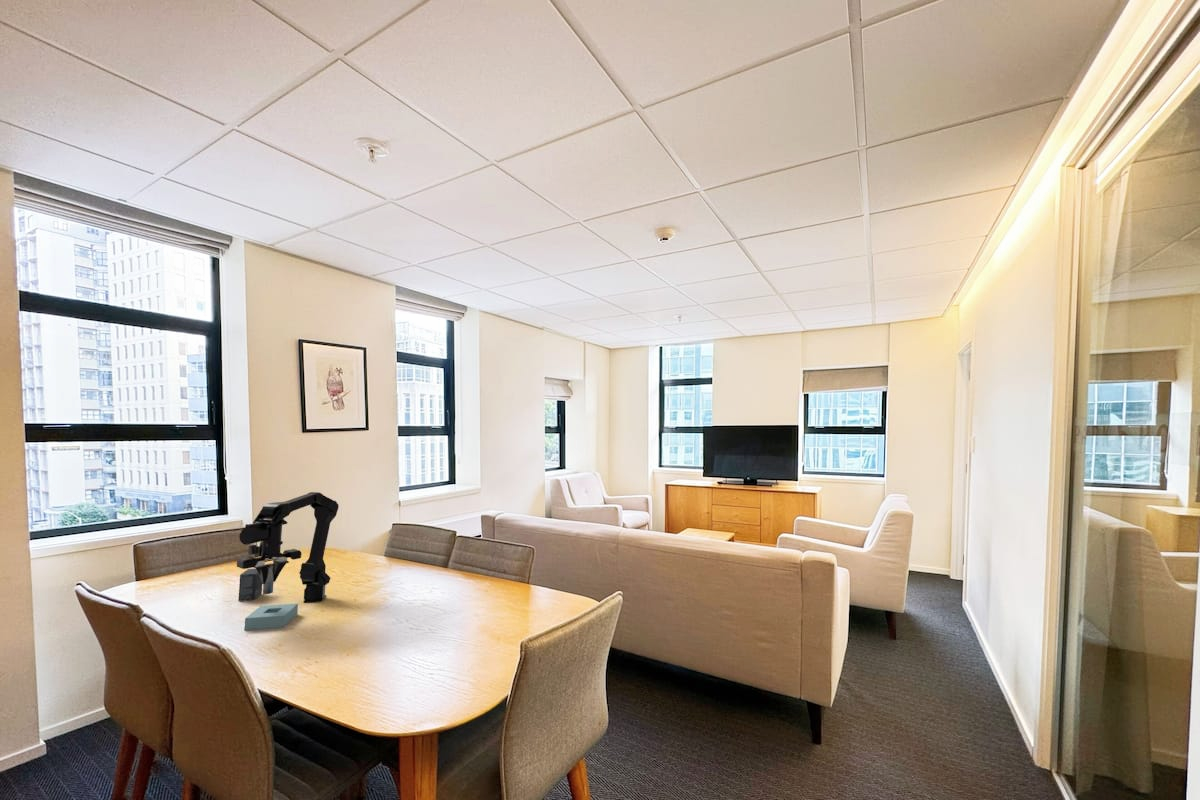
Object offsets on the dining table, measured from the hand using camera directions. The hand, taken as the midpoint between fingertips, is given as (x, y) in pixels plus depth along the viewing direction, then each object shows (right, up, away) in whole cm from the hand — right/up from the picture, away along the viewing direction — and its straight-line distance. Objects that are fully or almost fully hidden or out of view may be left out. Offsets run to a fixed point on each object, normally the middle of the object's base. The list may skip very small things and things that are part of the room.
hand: (268, 582), depth 169 cm
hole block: (+3, -13, -3) cm, 14 cm away
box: (-23, -15, +22) cm, 35 cm away
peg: (0, -4, 0) cm, 4 cm away
